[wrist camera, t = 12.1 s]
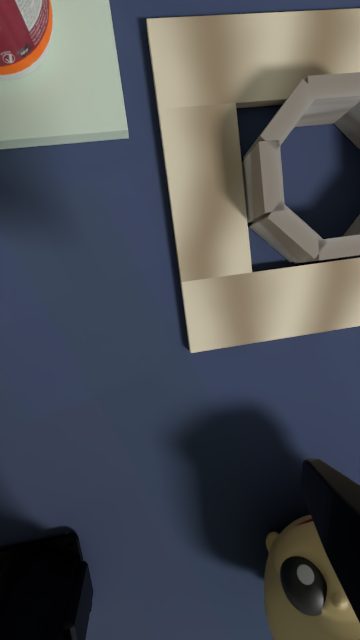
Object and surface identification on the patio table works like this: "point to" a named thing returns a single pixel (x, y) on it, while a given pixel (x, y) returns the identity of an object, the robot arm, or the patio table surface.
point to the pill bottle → (24, 36)
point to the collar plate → (254, 168)
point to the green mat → (68, 84)
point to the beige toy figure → (304, 588)
